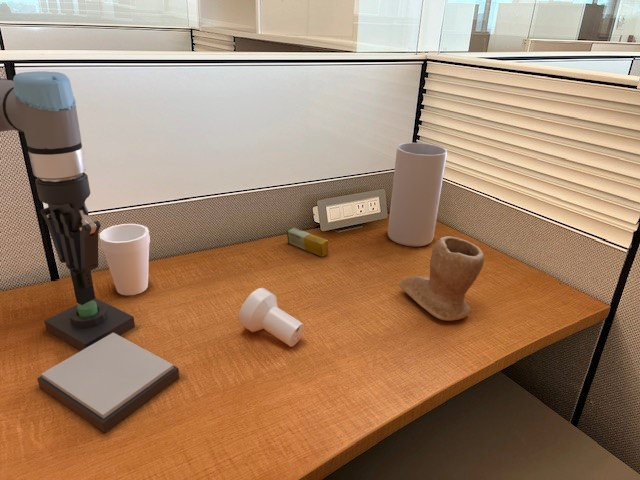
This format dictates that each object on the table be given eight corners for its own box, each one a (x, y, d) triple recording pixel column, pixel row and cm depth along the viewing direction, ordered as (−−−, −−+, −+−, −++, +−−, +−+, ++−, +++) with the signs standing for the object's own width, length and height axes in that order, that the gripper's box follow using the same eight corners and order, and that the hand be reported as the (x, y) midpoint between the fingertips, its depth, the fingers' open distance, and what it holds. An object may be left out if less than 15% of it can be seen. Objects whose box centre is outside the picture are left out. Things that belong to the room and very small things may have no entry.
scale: (39, 388, 75) (35, 374, 74) (116, 342, 86) (113, 329, 85) (104, 433, 68) (101, 418, 67) (179, 377, 79) (178, 363, 77)
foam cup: (99, 295, 100) (88, 238, 94) (125, 274, 108) (117, 221, 102) (139, 302, 98) (132, 245, 92) (163, 280, 106) (157, 227, 100)
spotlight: (263, 306, 96) (264, 278, 91) (309, 335, 92) (313, 308, 86) (236, 331, 91) (235, 303, 85) (282, 363, 86) (285, 335, 81)
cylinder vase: (423, 252, 125) (437, 158, 114) (379, 239, 130) (389, 149, 120) (439, 235, 134) (453, 148, 124) (397, 225, 140) (408, 140, 129)
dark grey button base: (46, 331, 88) (42, 313, 86) (95, 306, 96) (91, 289, 94) (87, 355, 83) (83, 336, 81) (135, 327, 90) (132, 309, 89)
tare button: (74, 314, 87) (73, 306, 86) (90, 306, 90) (89, 298, 89) (85, 319, 86) (84, 311, 85) (101, 311, 88) (100, 303, 87)
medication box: (287, 243, 126) (285, 230, 124) (294, 239, 128) (293, 226, 126) (322, 257, 119) (321, 243, 117) (329, 253, 121) (328, 239, 119)
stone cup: (485, 317, 98) (500, 252, 92) (437, 329, 94) (449, 261, 87) (440, 282, 111) (450, 222, 104) (396, 291, 106) (404, 229, 100)
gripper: (107, 177, 76) (127, 302, 86) (59, 162, 82) (82, 281, 92) (63, 189, 70) (90, 322, 81) (14, 172, 77) (44, 298, 87)
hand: (86, 300), depth 86 cm, fingers closed
